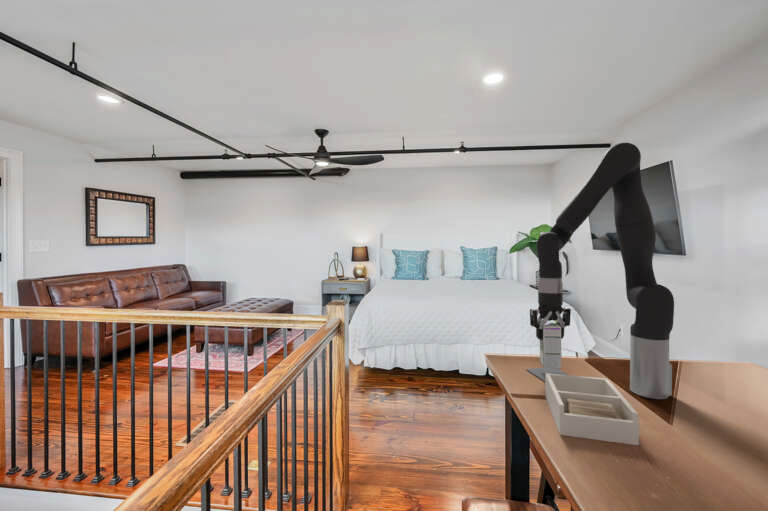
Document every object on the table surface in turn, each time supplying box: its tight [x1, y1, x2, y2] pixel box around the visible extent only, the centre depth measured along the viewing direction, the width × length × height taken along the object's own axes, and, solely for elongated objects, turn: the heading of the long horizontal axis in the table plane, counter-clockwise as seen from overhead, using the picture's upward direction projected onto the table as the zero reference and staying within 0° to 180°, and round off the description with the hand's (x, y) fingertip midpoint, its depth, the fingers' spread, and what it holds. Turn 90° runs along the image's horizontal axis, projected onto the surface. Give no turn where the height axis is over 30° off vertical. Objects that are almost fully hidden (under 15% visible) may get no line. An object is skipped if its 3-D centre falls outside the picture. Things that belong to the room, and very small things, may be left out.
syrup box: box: [539, 321, 563, 370], centre depth 116 cm, size 6×6×14 cm
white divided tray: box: [544, 373, 640, 446], centre depth 88 cm, size 21×16×7 cm
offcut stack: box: [567, 399, 623, 420], centre depth 82 cm, size 5×12×6 cm, turn 73°
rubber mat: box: [525, 367, 569, 383], centre depth 117 cm, size 11×11×1 cm
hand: (550, 338), depth 116 cm, fingers closed on syrup box, 7 cm apart
